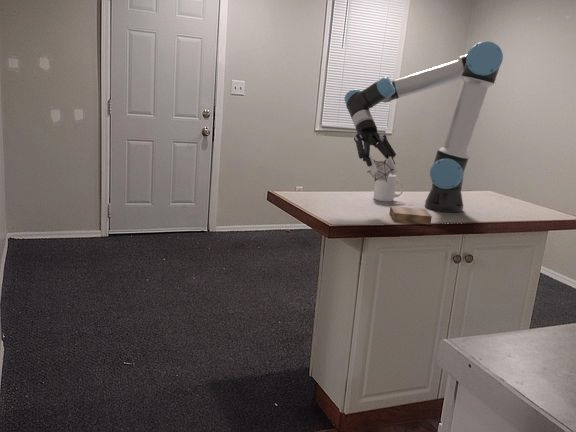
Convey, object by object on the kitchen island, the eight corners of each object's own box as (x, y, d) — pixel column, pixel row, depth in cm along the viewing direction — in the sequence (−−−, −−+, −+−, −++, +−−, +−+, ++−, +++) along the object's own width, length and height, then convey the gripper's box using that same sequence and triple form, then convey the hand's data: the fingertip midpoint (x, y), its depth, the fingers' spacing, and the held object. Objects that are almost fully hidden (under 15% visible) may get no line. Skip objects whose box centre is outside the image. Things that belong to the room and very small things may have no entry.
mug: (402, 203, 221) (405, 178, 218) (373, 200, 222) (376, 175, 220) (401, 199, 229) (404, 175, 226) (373, 196, 230) (376, 172, 228)
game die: (382, 192, 196) (392, 173, 189) (361, 181, 197) (371, 163, 190) (388, 177, 202) (399, 159, 195) (368, 167, 203) (378, 149, 196)
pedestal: (424, 216, 198) (425, 209, 197) (430, 224, 186) (431, 216, 185) (389, 213, 198) (390, 206, 198) (393, 221, 187) (394, 212, 186)
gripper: (381, 131, 211) (402, 178, 201) (337, 130, 202) (356, 178, 191) (391, 119, 205) (413, 167, 195) (346, 117, 196) (366, 166, 186)
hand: (384, 172), depth 193 cm, fingers closed on game die, 8 cm apart
